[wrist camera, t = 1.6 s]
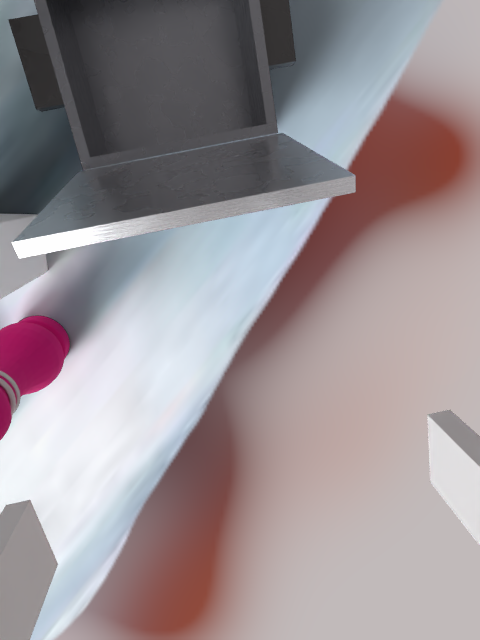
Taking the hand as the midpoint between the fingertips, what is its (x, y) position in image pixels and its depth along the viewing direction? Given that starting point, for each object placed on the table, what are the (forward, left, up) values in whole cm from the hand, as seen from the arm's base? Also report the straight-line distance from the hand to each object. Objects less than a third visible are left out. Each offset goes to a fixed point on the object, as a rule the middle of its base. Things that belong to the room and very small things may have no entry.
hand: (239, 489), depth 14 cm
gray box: (-20, 0, -34) cm, 40 cm away
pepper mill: (+4, -20, -34) cm, 40 cm away
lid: (-10, 0, -17) cm, 20 cm away
